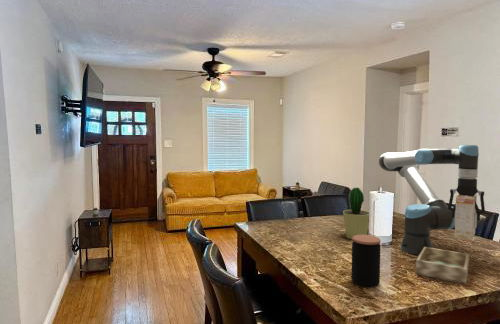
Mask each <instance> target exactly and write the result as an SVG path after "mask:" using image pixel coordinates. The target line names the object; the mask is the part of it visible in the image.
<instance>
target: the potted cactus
mask: <svg viewBox="0 0 500 324" xmlns="http://www.w3.org/2000/svg"><path fill="white" fill-rule="evenodd" d="M348 200H349V201H348V204H350V205H349V207H350V209H346V210H343V211H342V214H343V222H344V229H345V237H346V238H347V239H350V240H352V237H353V236H355V235H368V231H369V224H370V219H369V212H370V211H367V210H362V209H363V208H362V207H363V203H364V202H365V197H364V192H363V189H361V188H360V187H353V188H352V189H351V190H349V198H348Z"/></svg>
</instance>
